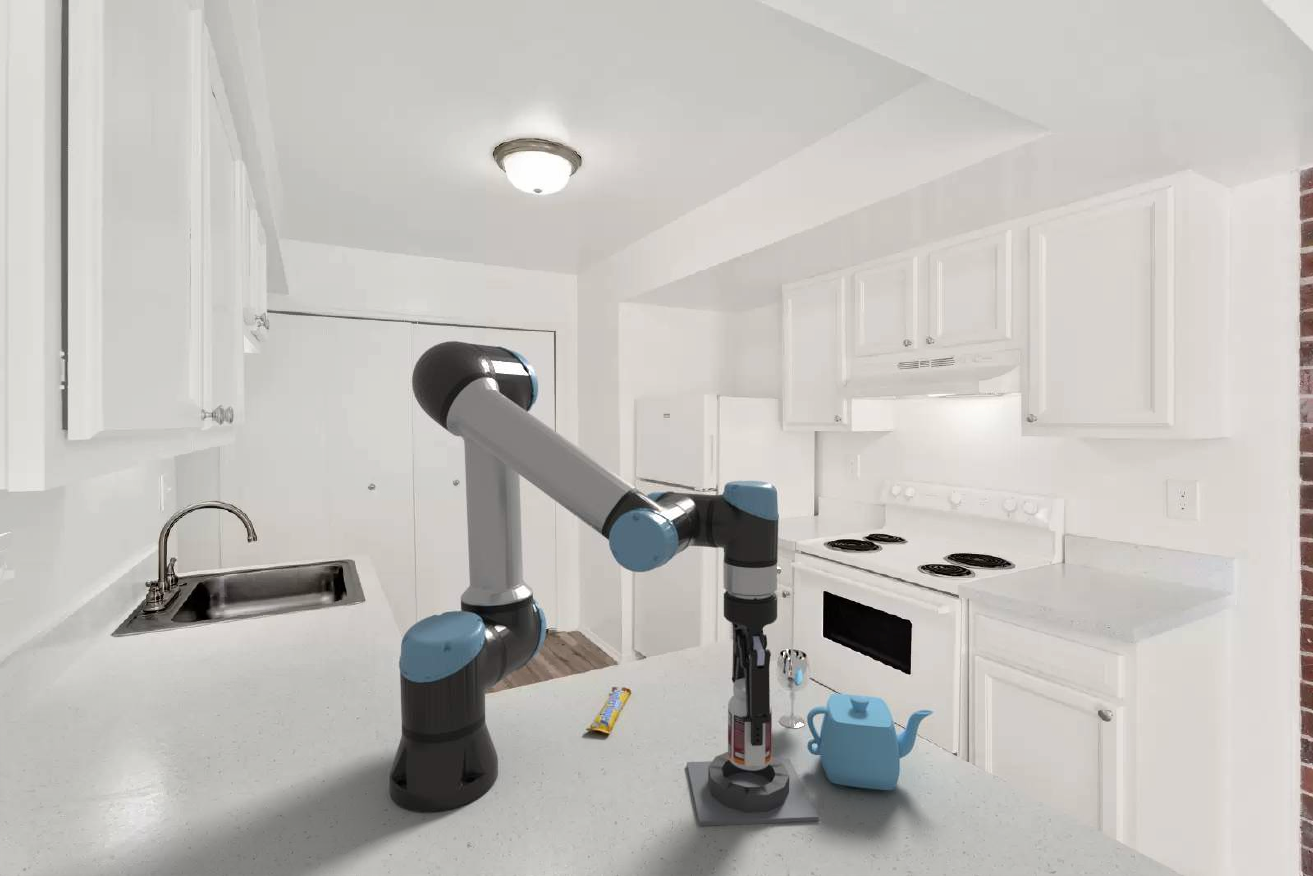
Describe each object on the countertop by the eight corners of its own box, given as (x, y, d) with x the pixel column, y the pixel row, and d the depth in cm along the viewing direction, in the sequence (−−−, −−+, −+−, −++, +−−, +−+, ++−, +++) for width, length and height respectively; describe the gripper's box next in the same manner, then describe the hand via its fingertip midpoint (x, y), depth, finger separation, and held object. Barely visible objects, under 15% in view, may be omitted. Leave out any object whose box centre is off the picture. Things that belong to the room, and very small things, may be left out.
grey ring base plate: (699, 826, 84) (699, 804, 84) (687, 765, 98) (687, 747, 98) (818, 821, 85) (818, 799, 85) (789, 762, 99) (789, 743, 99)
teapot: (940, 806, 88) (942, 726, 88) (807, 789, 92) (808, 712, 92) (922, 758, 100) (924, 687, 100) (805, 745, 104) (806, 676, 104)
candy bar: (612, 693, 123) (612, 684, 123) (633, 695, 123) (633, 686, 122) (584, 737, 107) (584, 727, 107) (609, 740, 106) (609, 729, 106)
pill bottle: (780, 763, 90) (781, 687, 90) (747, 777, 87) (748, 698, 86) (751, 744, 95) (751, 672, 95) (718, 756, 92) (719, 682, 91)
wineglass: (812, 717, 113) (813, 651, 112) (805, 732, 108) (806, 663, 107) (779, 711, 116) (780, 646, 115) (771, 725, 110) (772, 657, 110)
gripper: (796, 612, 81) (794, 790, 82) (760, 573, 100) (759, 717, 101) (737, 614, 80) (736, 792, 81) (713, 574, 99) (712, 719, 100)
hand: (749, 750), depth 91 cm, fingers closed on pill bottle, 6 cm apart
